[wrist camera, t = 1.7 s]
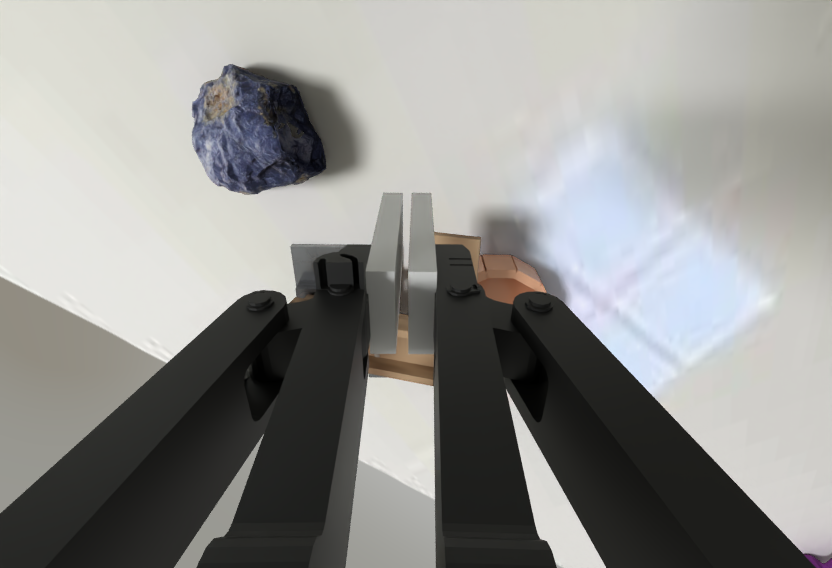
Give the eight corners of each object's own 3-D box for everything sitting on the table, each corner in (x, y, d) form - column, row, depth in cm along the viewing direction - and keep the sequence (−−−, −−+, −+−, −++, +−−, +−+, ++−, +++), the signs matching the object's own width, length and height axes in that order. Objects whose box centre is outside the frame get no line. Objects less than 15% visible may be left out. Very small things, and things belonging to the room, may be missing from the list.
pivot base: (307, 348, 54) (291, 393, 47) (291, 244, 47) (270, 279, 40) (400, 349, 54) (397, 394, 47) (399, 245, 47) (395, 280, 40)
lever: (309, 336, 50) (290, 359, 46) (291, 208, 42) (267, 224, 39) (471, 366, 46) (464, 393, 42) (483, 229, 38) (476, 249, 34)
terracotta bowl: (440, 254, 48) (442, 269, 44) (551, 255, 48) (560, 270, 44) (437, 343, 53) (438, 361, 50) (535, 343, 53) (543, 362, 50)
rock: (350, 169, 40) (266, 193, 33) (279, 188, 46) (194, 213, 39) (312, 43, 37) (209, 38, 30) (240, 81, 43) (140, 85, 36)
